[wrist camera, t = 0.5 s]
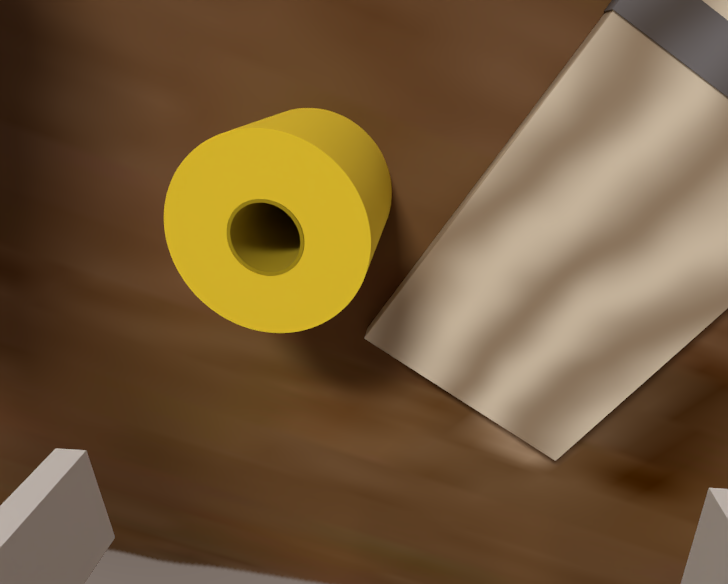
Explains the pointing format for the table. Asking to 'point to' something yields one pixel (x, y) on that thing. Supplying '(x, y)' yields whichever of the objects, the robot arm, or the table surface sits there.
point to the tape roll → (279, 218)
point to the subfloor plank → (584, 234)
